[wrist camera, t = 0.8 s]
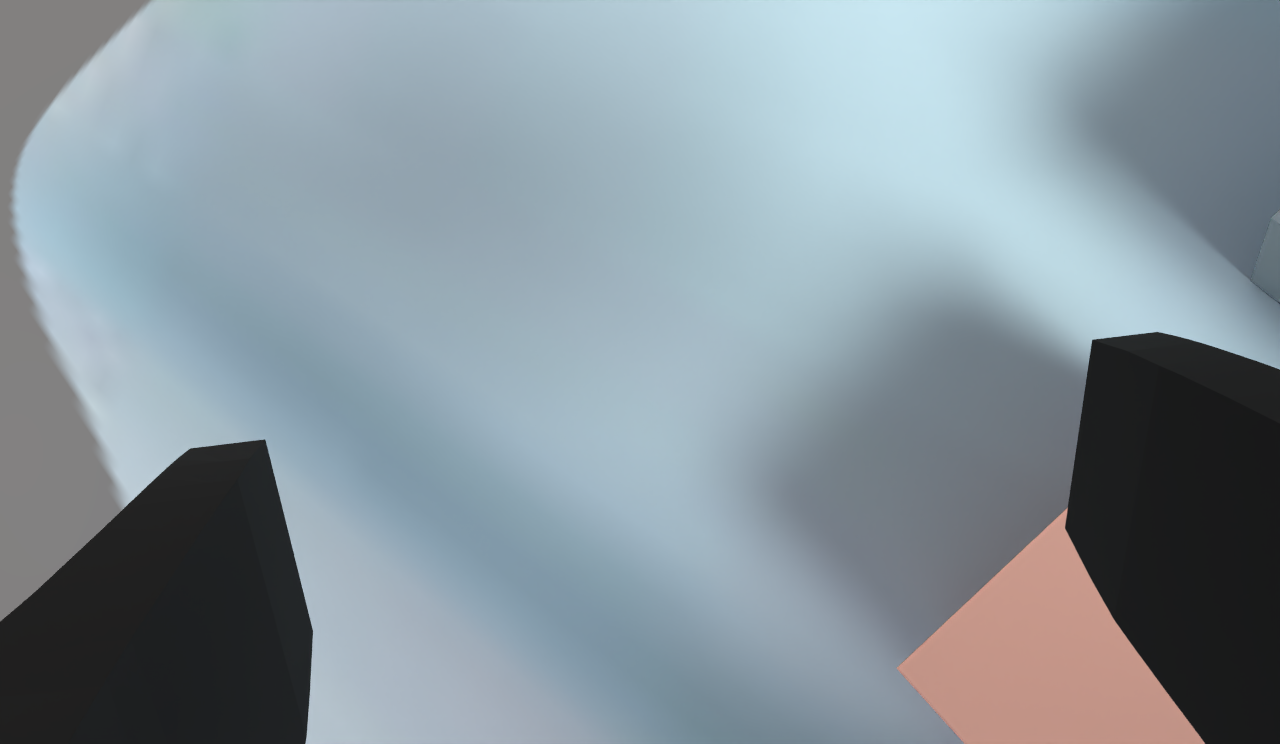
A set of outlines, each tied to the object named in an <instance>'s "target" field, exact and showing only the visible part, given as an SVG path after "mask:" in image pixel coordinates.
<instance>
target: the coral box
mask: <svg viewBox="0 0 1280 744" xmlns="http://www.w3.org/2000/svg"><path fill="white" fill-rule="evenodd" d="M1067 510H1068V508H1067V509H1066V510H1064V511H1063V512H1062V513H1061V514H1060V515H1059V516H1058V517H1057V518H1056V519H1055V520H1054V521H1053V522H1052V523H1051V524H1050V525H1048V526H1047V527H1046V528H1045V529H1044V530H1043V531H1042V532H1041V533H1040V534H1039V535H1038V536H1037V537H1036V538H1035V539H1034V540H1032V541H1031V542H1030V543H1029V544H1028V545H1027V546H1026V547H1025V548H1024V549H1023V550H1022V551H1021V552H1020V553H1019V554H1018V555H1016V556H1015V557H1014V558H1013V559H1012V560H1011V561H1010V562H1009V563H1008V564H1007V565H1006V566H1005V567H1004V568H1003V569H1002V570H1000V571H999V572H998V573H997V574H996V575H995V576H994V577H993V578H992V579H991V580H990V581H989V582H988V583H987V584H986V585H984V586H983V587H982V588H981V589H980V590H979V591H978V592H977V593H976V594H975V595H974V596H973V597H972V598H971V599H970V600H968V601H967V602H966V603H965V604H964V605H963V606H962V607H961V608H960V609H959V610H958V611H957V612H956V613H955V614H954V615H952V616H951V617H950V618H949V619H948V620H947V621H946V622H945V623H944V624H943V625H942V626H941V627H940V628H939V629H938V630H936V631H935V632H934V633H933V634H932V635H931V636H930V637H929V638H928V639H927V640H926V641H925V642H924V643H923V644H922V645H920V646H919V647H918V648H917V649H916V650H915V651H914V652H913V653H912V654H911V655H910V656H909V657H908V658H907V659H906V660H904V661H903V662H902V663H901V664H900V665H899V666H898V667H897V669H898V671H899V672H900V673H901V674H902V675H903V676H904V677H905V678H906V679H907V681H908V682H909V683H910V684H911V685H912V686H913V687H914V688H915V689H916V690H917V692H918V693H919V694H920V695H921V696H922V697H923V698H924V699H925V700H926V702H927V703H928V704H929V705H930V706H931V707H932V708H933V709H934V710H935V712H936V713H937V714H938V715H939V716H940V717H941V718H942V719H943V720H944V721H945V723H946V724H947V725H948V726H949V727H950V728H951V729H952V730H953V731H954V733H955V734H956V735H957V736H958V737H959V738H960V739H961V740H962V741H963V743H964V744H1205V743H1204V741H1203V740H1202V739H1201V737H1200V736H1199V735H1198V733H1197V732H1196V731H1195V729H1194V728H1193V727H1192V725H1191V724H1190V723H1189V721H1188V720H1187V719H1186V717H1185V716H1184V715H1183V713H1182V712H1181V711H1180V709H1179V708H1178V707H1177V705H1176V704H1175V703H1174V701H1173V700H1172V699H1171V697H1170V696H1169V695H1168V693H1167V692H1166V691H1165V689H1164V688H1163V687H1162V685H1161V684H1160V682H1159V681H1158V680H1157V678H1156V677H1155V676H1154V674H1153V673H1152V672H1151V670H1150V669H1149V668H1148V666H1147V665H1146V663H1145V662H1144V661H1143V659H1142V658H1141V657H1140V655H1139V654H1138V653H1137V651H1136V650H1135V648H1134V647H1133V646H1132V644H1131V643H1130V642H1129V640H1128V639H1127V637H1126V636H1125V635H1124V633H1123V632H1122V630H1121V629H1120V627H1119V626H1118V625H1117V623H1116V622H1115V620H1114V619H1113V617H1112V615H1111V614H1110V612H1109V610H1108V608H1107V606H1106V605H1105V603H1104V601H1103V599H1102V598H1101V596H1100V594H1099V592H1098V591H1097V589H1096V587H1095V585H1094V584H1093V582H1092V580H1091V578H1090V576H1089V574H1088V572H1087V570H1086V568H1085V566H1084V565H1083V563H1082V561H1081V559H1080V557H1079V555H1078V553H1077V551H1076V549H1075V547H1074V545H1073V543H1072V541H1071V539H1070V537H1069V535H1068V533H1067V531H1066V529H1065V524H1066V517H1067Z"/></svg>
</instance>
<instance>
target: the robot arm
mask: <svg viewBox="0 0 1280 744" xmlns="http://www.w3.org/2000/svg"><path fill="white" fill-rule="evenodd" d="M1065 529H1066V531H1067V533H1068V535H1069V537H1070V539H1071V541H1072V543H1073V545H1074V547H1075V549H1076V551H1077V553H1078V555H1079V557H1080V559H1081V561H1082V563H1083V565H1084V566H1085V568H1086V570H1087V572H1088V574H1089V576H1090V578H1091V580H1092V582H1093V584H1094V585H1095V587H1096V589H1097V591H1098V592H1099V594H1100V596H1101V598H1102V599H1103V601H1104V603H1105V605H1106V606H1107V608H1108V610H1109V612H1110V614H1111V615H1112V617H1113V619H1114V620H1115V622H1116V623H1117V625H1118V626H1119V627H1120V629H1121V630H1122V632H1123V633H1124V635H1125V636H1126V637H1127V639H1128V640H1129V642H1130V643H1131V644H1132V646H1133V647H1134V648H1135V650H1136V651H1137V653H1138V654H1139V655H1140V657H1141V658H1142V659H1143V661H1144V662H1145V663H1146V665H1147V666H1148V668H1149V669H1150V670H1151V672H1152V673H1153V674H1154V676H1155V677H1156V678H1157V680H1158V681H1159V682H1160V684H1161V685H1162V687H1163V688H1164V689H1165V691H1166V692H1167V693H1168V695H1169V696H1170V697H1171V699H1172V700H1173V701H1174V703H1175V704H1176V705H1177V707H1178V708H1179V709H1180V711H1181V712H1182V713H1183V715H1184V716H1185V717H1186V719H1187V720H1188V721H1189V723H1190V724H1191V725H1192V727H1193V728H1194V729H1195V731H1196V732H1197V733H1198V735H1199V736H1200V737H1201V739H1202V740H1203V741H1204V743H1205V744H1280V370H1279V369H1277V368H1274V367H1271V366H1268V365H1265V364H1263V363H1260V362H1257V361H1254V360H1251V359H1248V358H1245V357H1242V356H1239V355H1236V354H1233V353H1230V352H1227V351H1224V350H1221V349H1218V348H1215V347H1212V346H1209V345H1206V344H1202V343H1199V342H1196V341H1192V340H1189V339H1185V338H1181V337H1177V336H1173V335H1168V334H1164V333H1159V332H1154V333H1146V334H1137V335H1129V336H1121V337H1112V338H1104V339H1096V340H1092V346H1091V353H1090V359H1089V366H1088V373H1087V380H1086V387H1085V394H1084V401H1083V407H1082V414H1081V421H1080V428H1079V435H1078V442H1077V449H1076V455H1075V462H1074V469H1073V476H1072V483H1071V490H1070V497H1069V504H1068V510H1067V517H1066V524H1065ZM312 639H313V630H312V626H311V622H310V618H309V614H308V610H307V605H306V601H305V597H304V593H303V589H302V585H301V581H300V577H299V573H298V569H297V565H296V561H295V557H294V553H293V549H292V545H291V541H290V537H289V533H288V529H287V525H286V521H285V517H284V513H283V509H282V505H281V501H280V497H279V493H278V489H277V485H276V481H275V477H274V473H273V469H272V465H271V461H270V457H269V453H268V449H267V445H266V441H265V440H258V441H249V442H241V443H233V444H224V445H216V446H208V447H199V448H191V449H189V450H188V451H187V452H185V453H184V454H183V455H182V456H180V457H179V458H178V459H177V460H175V461H174V462H173V463H172V464H171V465H170V466H169V467H168V468H166V469H165V470H164V471H163V472H162V473H161V474H160V475H159V476H158V477H157V478H156V479H155V480H154V481H152V482H151V483H150V484H149V485H148V486H147V487H146V488H145V489H144V490H143V491H142V492H141V493H140V494H139V495H138V496H137V497H136V498H135V499H134V500H132V501H131V502H130V503H129V504H128V505H127V506H126V507H125V508H124V509H123V510H122V511H121V512H120V513H119V514H118V515H117V516H116V517H115V518H114V519H113V520H112V521H111V522H109V523H108V524H107V525H106V526H105V527H104V528H103V529H102V530H101V531H100V532H99V533H98V534H97V535H96V536H95V537H94V538H93V539H91V540H90V541H89V542H88V543H87V544H86V545H85V546H84V547H83V548H82V549H81V550H80V551H79V552H78V553H76V554H75V555H74V556H73V557H72V558H71V559H70V560H69V561H68V562H67V563H66V564H65V565H64V566H62V568H60V569H59V570H58V571H57V572H56V573H55V574H54V575H53V576H52V577H51V578H50V579H49V580H47V581H46V582H45V583H44V584H43V585H42V586H41V587H40V588H39V589H38V590H37V591H36V592H34V593H33V594H32V595H31V596H30V597H29V598H28V599H27V600H25V601H24V602H23V603H22V604H21V605H20V606H18V607H17V608H16V609H15V610H14V611H12V612H11V613H10V614H9V615H8V616H6V617H5V618H4V619H3V620H2V621H1V622H0V744H305V742H306V736H307V722H308V708H309V695H310V677H311V658H312Z"/></svg>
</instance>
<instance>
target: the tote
mask: <svg viewBox="0 0 1280 744" xmlns="http://www.w3.org/2000/svg"><path fill="white" fill-rule="evenodd" d="M1251 281H1252V282H1253V283H1254V284H1256V285H1257V286H1258V287H1259V288H1261V289H1262V290H1263V291H1265V292H1266V293H1267V294H1268V295H1270V296H1271V297H1272V298H1273V299H1275V300H1276V301H1277V302H1278V303H1280V210H1279V211H1278V212H1277V213H1276V214H1275V215H1274V216H1272V217H1271V220H1270V223H1269V226H1268V229H1267V232H1266V235H1265V238H1264V241H1263V244H1262V247H1261V250H1260V253H1259V256H1258V259H1257V262H1256V265H1255V268H1254V271H1253V274H1252V277H1251Z"/></svg>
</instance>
